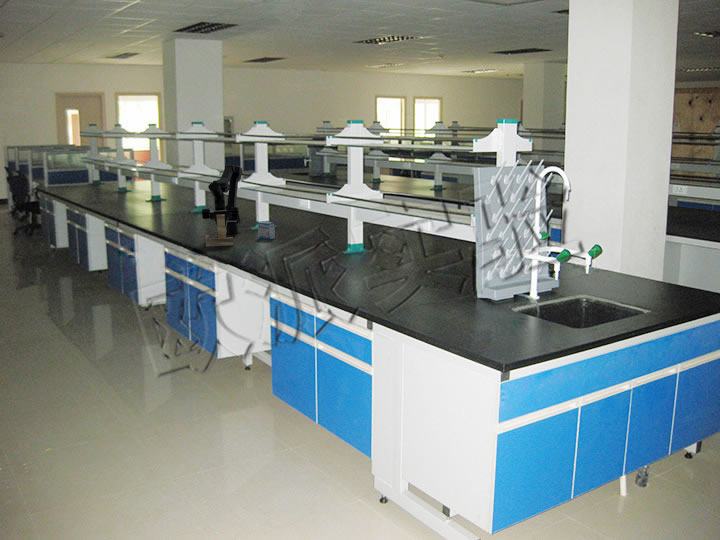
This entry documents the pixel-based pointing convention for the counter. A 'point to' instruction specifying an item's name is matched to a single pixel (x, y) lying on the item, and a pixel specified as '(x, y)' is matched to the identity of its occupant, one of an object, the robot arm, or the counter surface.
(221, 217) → the oak plank block
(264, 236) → the medicine box
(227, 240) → the lock board
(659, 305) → the counter surface
